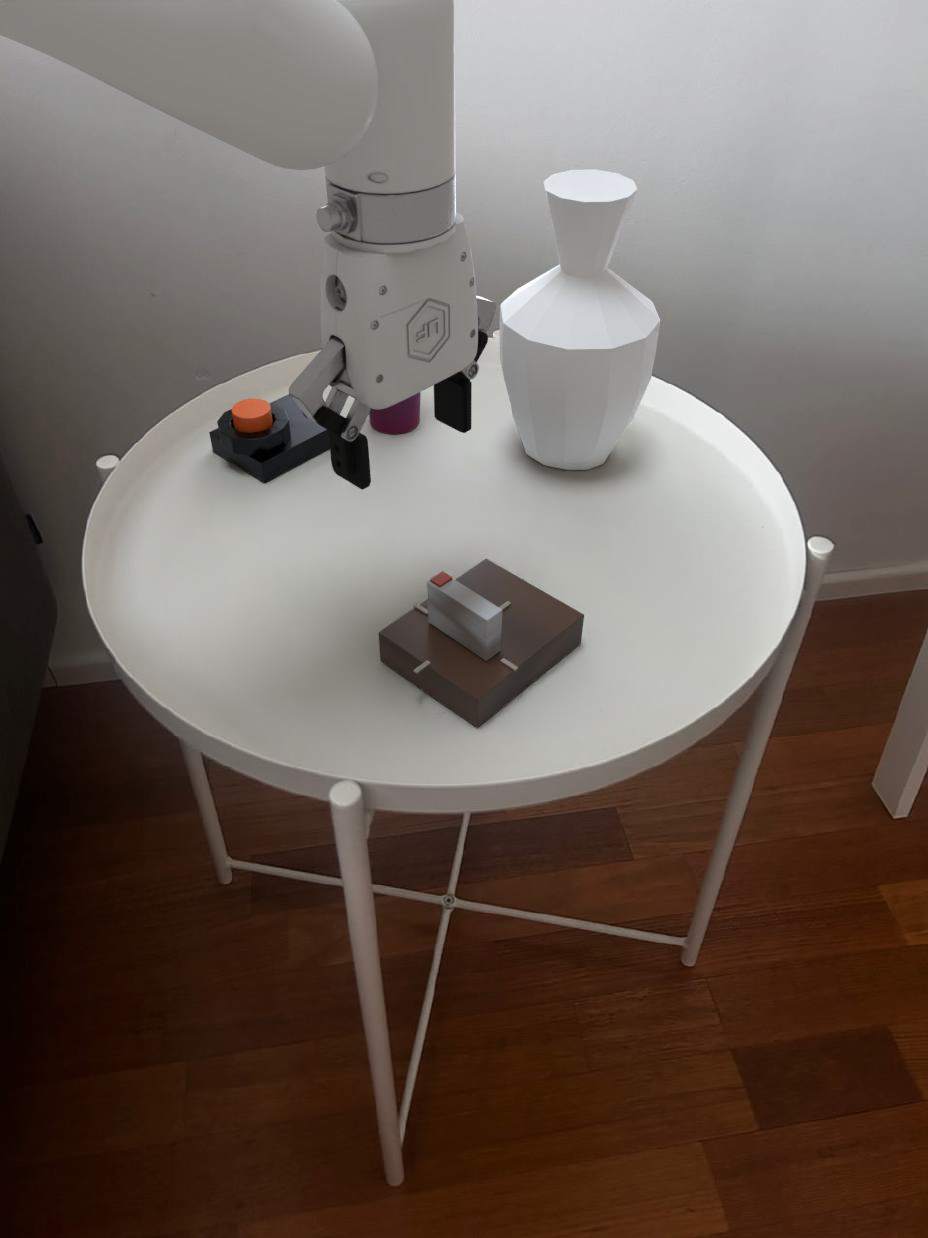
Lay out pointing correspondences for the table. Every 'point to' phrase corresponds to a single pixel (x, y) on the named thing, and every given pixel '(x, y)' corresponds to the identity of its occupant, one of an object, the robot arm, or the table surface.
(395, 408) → the cup
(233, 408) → the button
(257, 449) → the button box
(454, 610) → the grey rectangular block
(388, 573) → the table surface
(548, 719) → the table surface
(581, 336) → the vase
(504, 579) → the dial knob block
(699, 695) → the table surface
